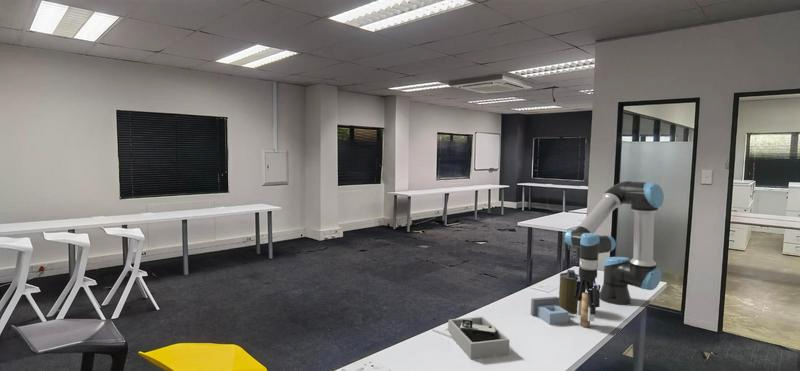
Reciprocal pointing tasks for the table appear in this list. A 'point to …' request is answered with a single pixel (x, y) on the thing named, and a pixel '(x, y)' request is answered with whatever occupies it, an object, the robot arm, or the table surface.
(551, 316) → the block
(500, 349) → the tray
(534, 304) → the wall
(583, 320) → the dowel
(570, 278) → the canister
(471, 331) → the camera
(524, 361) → the table surface
